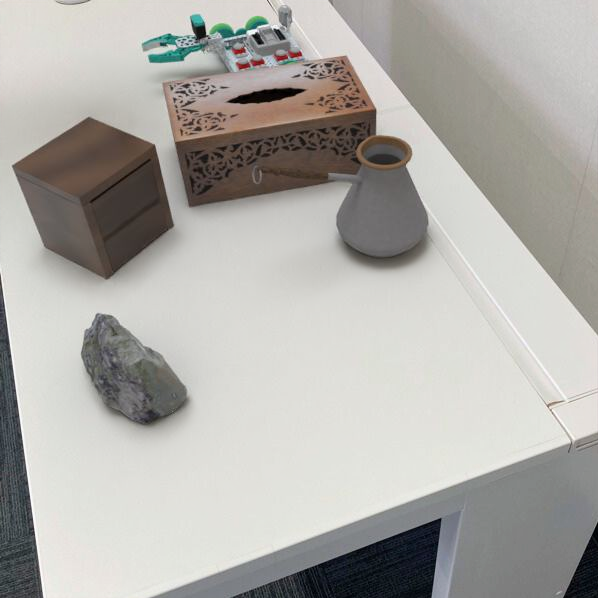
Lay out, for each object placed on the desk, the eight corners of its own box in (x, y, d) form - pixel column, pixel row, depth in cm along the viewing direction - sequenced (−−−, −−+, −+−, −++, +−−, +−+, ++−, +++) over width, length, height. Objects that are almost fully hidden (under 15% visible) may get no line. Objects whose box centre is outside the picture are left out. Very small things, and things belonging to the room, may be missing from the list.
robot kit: (140, 62, 127) (128, 6, 120) (283, 33, 133) (279, -22, 126) (168, 120, 116) (156, 62, 109) (323, 85, 122) (321, 27, 115)
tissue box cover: (347, 118, 116) (346, 55, 108) (375, 174, 106) (376, 109, 99) (175, 146, 111) (162, 82, 104) (189, 206, 102) (175, 141, 94)
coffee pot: (403, 200, 103) (408, 98, 91) (442, 253, 96) (454, 150, 84) (250, 241, 97) (236, 139, 86) (280, 301, 90) (269, 198, 79)
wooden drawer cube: (44, 246, 97) (11, 165, 88) (112, 196, 104) (88, 116, 94) (106, 279, 93) (79, 198, 84) (174, 225, 100) (155, 144, 90)
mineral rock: (86, 344, 86) (60, 278, 79) (183, 329, 88) (166, 263, 80) (84, 437, 78) (54, 374, 70) (191, 419, 79) (173, 355, 72)
